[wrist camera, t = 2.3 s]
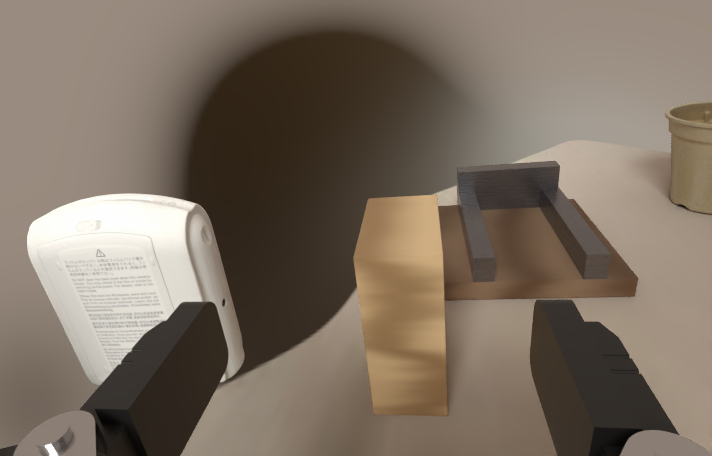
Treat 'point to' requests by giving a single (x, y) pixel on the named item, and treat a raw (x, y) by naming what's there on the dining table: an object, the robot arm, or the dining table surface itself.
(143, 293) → the photo printer
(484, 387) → the dining table surface
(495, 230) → the cradle
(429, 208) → the oak plank
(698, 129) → the flower pot
